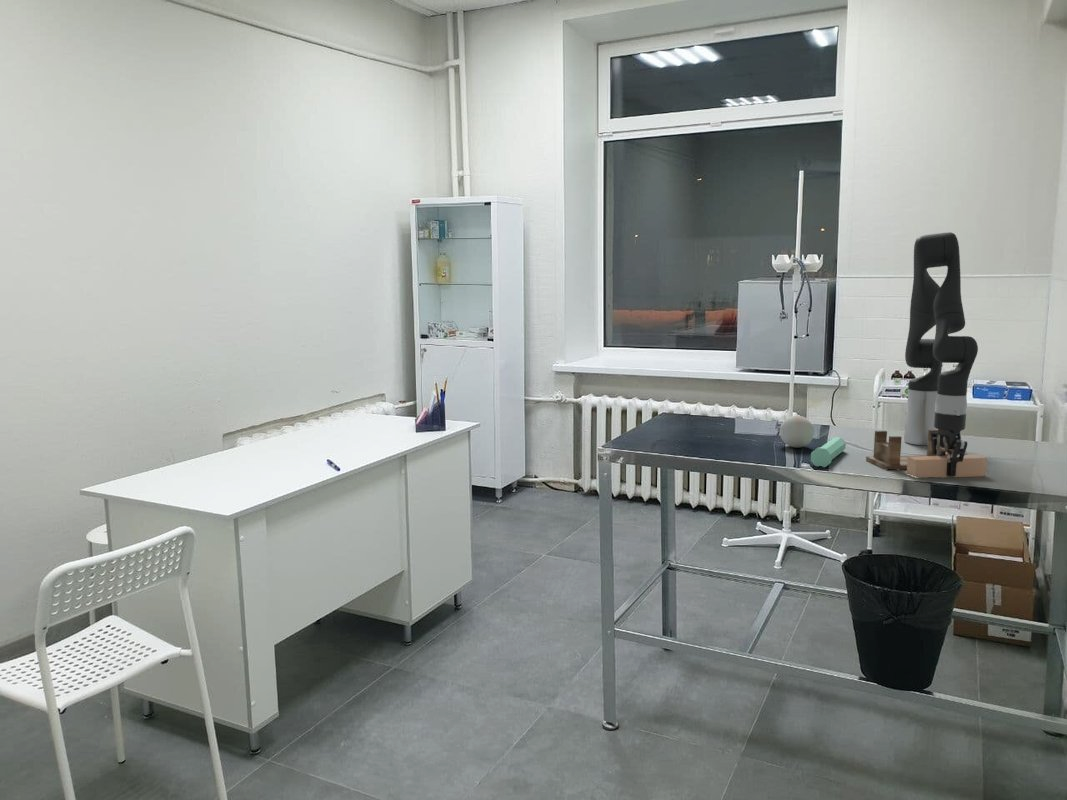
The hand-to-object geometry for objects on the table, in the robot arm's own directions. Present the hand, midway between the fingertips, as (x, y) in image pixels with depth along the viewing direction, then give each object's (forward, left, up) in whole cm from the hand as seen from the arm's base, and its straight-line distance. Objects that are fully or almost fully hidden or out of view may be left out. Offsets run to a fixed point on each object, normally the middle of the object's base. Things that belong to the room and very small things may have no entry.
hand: (946, 473), depth 225 cm
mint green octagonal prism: (-23, -22, -1) cm, 32 cm away
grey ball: (-39, -26, -1) cm, 47 cm away
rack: (-13, -2, 0) cm, 13 cm away
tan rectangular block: (0, 0, 0) cm, 0 cm away
